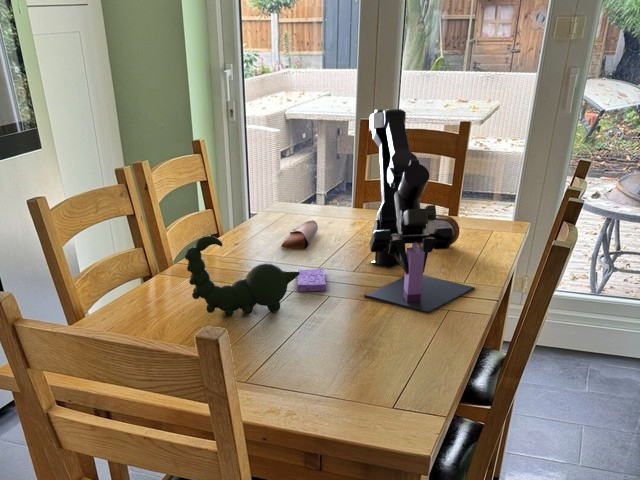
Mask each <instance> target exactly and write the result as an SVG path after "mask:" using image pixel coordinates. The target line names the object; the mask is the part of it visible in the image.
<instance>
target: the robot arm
mask: <svg viewBox="0 0 640 480" xmlns="http://www.w3.org/2000/svg"><path fill="white" fill-rule="evenodd" d="M406 118H407V112H406V111H405V110H404V109H401V108H388V109H387V108H385V109H383V108H382V109H381V108H380V109H375V110H374V112H373V113H371V114H370V115H369V129H370V130H371V134H372V140H373V141H374V143H375V144H376V146H377V147H378V153H379V171H380V172H379V173H380V195H381V205H380V208H379V210H378V212H377V214H376V215H375V216H376V217H375V218H376V219H375V220H374V223H373V225H372V230H371V238H370V241H369V248H370V249H369V250H370V252H371V253H374V260H372V261H371V262H370V263H371V264H372V265H374V266H379V267H383V268H388V269H392V268H394V267H397V266H399V265H400V266H401V268H402V270H403V271H404V274H405V273H406V274H408V273H409V266H408V260H407V255H406V252H407V249H406V244H412V243H416V244H418V243H421V244H420V247H421V249H422V250H423V251H424V252H425V256H424V267H423V274H424V273H425V269H426V265H427V260H428V255H429V254H430V253H433V250H446V249H449V248H450V246H451V245H452V244H451V242H452V240H453V238H454V230H453V229H452V228H451V227H436V229H435V231H434V233H433V234H423V231H425V230H426V224H428V221H434V220H435V219H436V215H437V209H436V205H435V204H429V205H426V206H425V207H424V208H421V202H420V201H421V200H420V198H422V196H423V194H424V192H425V190H426V187H427V185H428V182H429V179H430V172H429V170H428V168H427V167H425V166H424V165H423V164H420V160H419V158H418V157H417V155H415V154H414V153H413V152H412V151H411V149H410V144H409V138H408V133H407V130H406V125H407V124H406V121H407V120H406ZM450 244H451V245H450Z"/></svg>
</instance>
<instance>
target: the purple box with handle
mask: <svg viewBox="0 0 640 480" xmlns="http://www.w3.org/2000/svg"><path fill="white" fill-rule="evenodd" d="M406 255H407V260H408V266H409V273H408V274H406V273H405V272H404V277H405V278H404V290H403V296H404V298H405V300H406V301H407V302H420V300H421V289H422V278H423V275H424V273H423V267H424V256H425V252H424V251H423V250H422V249H421V246H418V243H411V247H406Z"/></svg>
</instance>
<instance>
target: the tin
mask: <svg viewBox="0 0 640 480" xmlns="http://www.w3.org/2000/svg"><path fill="white" fill-rule="evenodd" d="M436 227H451V228H452V229H453V230H454V238H453V240H452V242H451V244H450V246H451V245H453V244H454V243H455V242H456V241H457V240H458V239H459V236H460V226H459V224H458V222H457V220H456V219H454V218H453V217H452V216H449V215H441V214H436V219H435V220H434V221H428V224H426V230H425V231H423V234H433V233H434V231H435V229H436ZM417 245H421V243H417Z"/></svg>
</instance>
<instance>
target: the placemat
mask: <svg viewBox="0 0 640 480" xmlns="http://www.w3.org/2000/svg"><path fill="white" fill-rule="evenodd" d="M404 278H405V276H403V277H401V278H398V279H396V280H394V281H392V282H390V283H388V284H385V285H383V286H381V287H378V288H377V289H374V290H372V291H370V292H368V293H366V294H364V298H368V299H372V300H374V301H375V300H376V301H379V302H383V303H387V304H390V305H394V306H398V307H402V308H405V309H409V310H413V311H417V312H420V313H424V314H428V315H429V314H430V313H432V312H434V311H436V310H438V309H440V308H442V307H444V306H446V305H447V304H449V303H451V302H453V301H455V300H457V299H458V298H460V297H462V296H464V295H467V294H468V293H470V292H472V291H474V290H475V286H471V285H467V284H462V283H458V282H454V281H449V280H445V279H442V278H437V277H433V276H429V275H424V274H423V278H422V289H421V300H420V302H407V301H406V300H405V298H404V296H403V290H404Z"/></svg>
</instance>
